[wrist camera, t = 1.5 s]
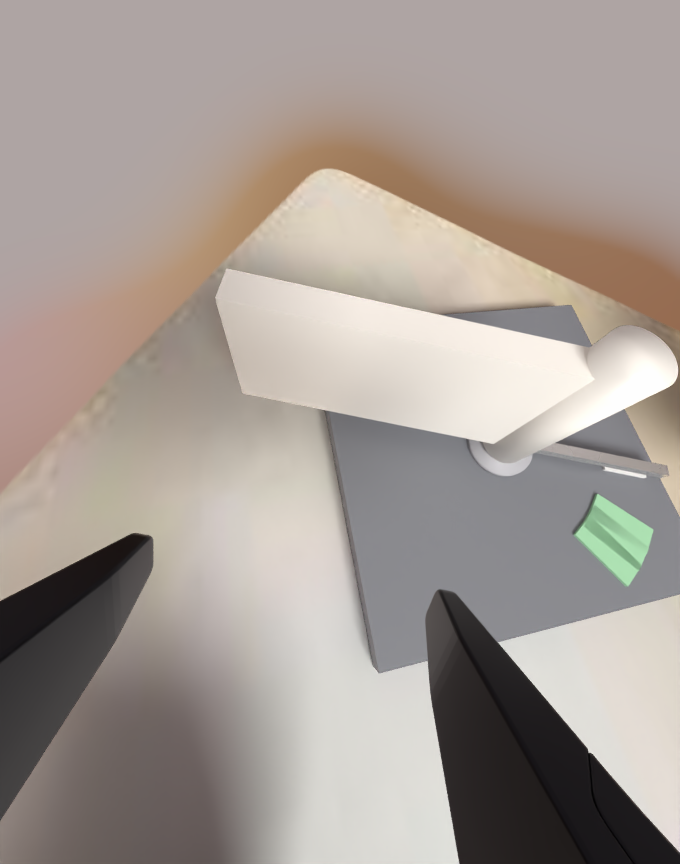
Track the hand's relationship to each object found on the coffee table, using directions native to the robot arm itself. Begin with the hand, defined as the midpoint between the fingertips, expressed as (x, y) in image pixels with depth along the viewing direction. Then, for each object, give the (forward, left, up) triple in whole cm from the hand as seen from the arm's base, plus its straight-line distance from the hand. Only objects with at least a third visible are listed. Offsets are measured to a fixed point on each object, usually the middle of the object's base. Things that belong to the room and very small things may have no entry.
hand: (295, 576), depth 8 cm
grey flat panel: (+15, +5, -14) cm, 21 cm away
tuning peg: (+12, +6, -11) cm, 18 cm away
